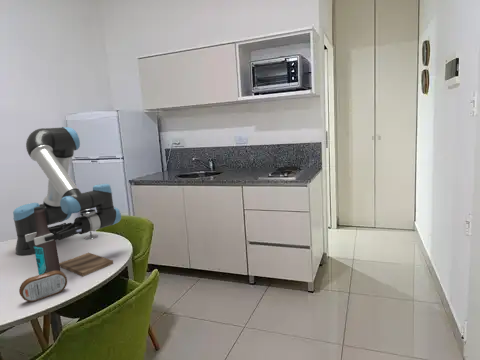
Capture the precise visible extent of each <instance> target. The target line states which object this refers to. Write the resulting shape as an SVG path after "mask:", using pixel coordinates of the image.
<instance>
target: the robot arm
mask: <svg viewBox="0 0 480 360" xmlns="http://www.w3.org/2000/svg"><path fill="white" fill-rule="evenodd" d="M80 145H81V141H80V137H79V135H78V132H76V130H75V129H74V128H72V127H65V126H62V127H47V128H46V127H45V128H38V129H35V130H33V131H32V132H30V134H29V135H28V136H27V138H26V143H25V147H26V152H27V154H28V155H29V157H30V159H31V160H32V161H35V162H36V163H37V165H38V166H39V168H40V169H41V170H42V171H43V173H44V175H45V176H46V177H47V178H48V179H47V180H48V182H47V195H45V197H44V198H43V203H42V204H40V203H39V202H30V203H26V204H23V205H20V206H18V207H16V208H14V210H13V212H12V213H13V221H14V226H15V232H16V236H17V237H16V238H17V239H16V243H15V244H16V245H15V250H14V251H15V254H16V255H17V256H28V255H35V250H34V243H33V241H34V242H35V245H39V244H42V243H45V242H49V241H52V240H55V241H61V240H63V239H66V238H70V237H73V236H75V235H84V234H87V233H90V231H91V232H96V231H97V230H99V229H102V228H106V227H111V226H113V225H115V224H118V223H119V222H120V221H121V220H122V214H121V211H120V209H119V208H118V207H114V202H113V201H114V200H113V191H112V188H111V185H110V184H109V183H102V184H100V183H99V184H96V185H93V187H92V190H90V191H85V192H81V190H80V189H79V188H78V186H77V185H76V184H75V182H74V181H73V180H72V178H71V176H70V175H69V169H70V168H69V167H70V159H71V158H73V157H74V154H75V153H74V152H75V151H77V150H79V149H80V147H81V146H80ZM39 206H43V207H44V210H45V211H44V213H45V217H46V221H47V225H48V229H49V232H51V234H47V235H44V236H40V237H37V238H35V236H36V234H37V230H36V220H35V213H34V208H35V207H39ZM95 208H96V209H95ZM89 209H95V211H96V213H92V214H88V215H85V216H81V217H80V216H77V217H76V218H74V221H73V223H72V222H69V223H68V222H64V221H68V220H69V219H70V218H71V216H72V215H74V214H77V213H80V212H81V211H84V210H89ZM63 222H64V223H63ZM58 223H61V224H58ZM54 224H58V225H54ZM50 225H53V226H50Z"/></svg>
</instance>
